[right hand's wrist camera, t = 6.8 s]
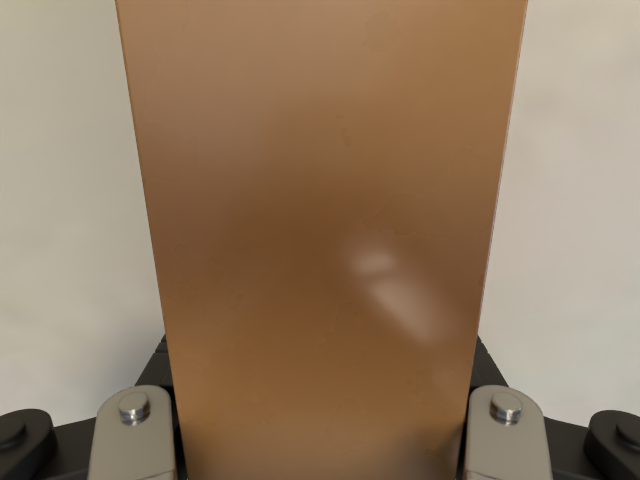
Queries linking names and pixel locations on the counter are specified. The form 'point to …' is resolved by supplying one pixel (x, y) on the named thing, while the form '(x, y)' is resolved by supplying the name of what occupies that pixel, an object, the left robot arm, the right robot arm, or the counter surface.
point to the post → (321, 222)
